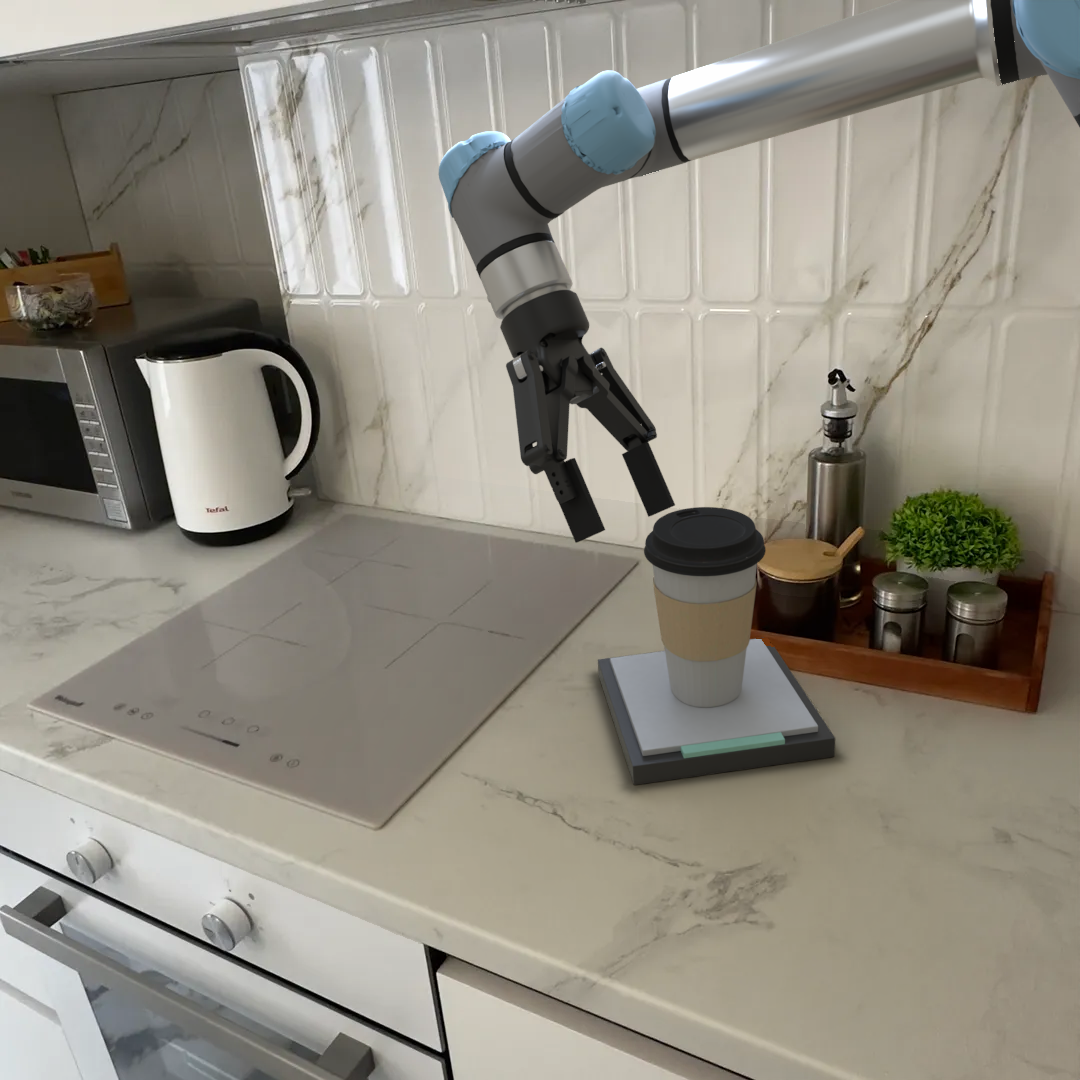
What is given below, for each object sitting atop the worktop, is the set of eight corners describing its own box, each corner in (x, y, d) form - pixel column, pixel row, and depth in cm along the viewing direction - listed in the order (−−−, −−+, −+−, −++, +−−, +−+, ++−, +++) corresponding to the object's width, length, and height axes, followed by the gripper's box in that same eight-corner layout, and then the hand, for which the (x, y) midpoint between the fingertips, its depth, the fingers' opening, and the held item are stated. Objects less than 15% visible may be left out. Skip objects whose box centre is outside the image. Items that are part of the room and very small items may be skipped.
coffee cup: (695, 648, 88) (692, 494, 82) (785, 683, 82) (790, 520, 76) (626, 694, 82) (618, 532, 76) (718, 736, 76) (717, 563, 70)
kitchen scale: (767, 653, 91) (768, 631, 90) (834, 756, 76) (835, 731, 75) (598, 675, 90) (597, 653, 89) (633, 785, 75) (632, 760, 74)
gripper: (574, 325, 100) (655, 515, 99) (419, 325, 80) (519, 565, 78) (633, 289, 96) (718, 488, 95) (485, 279, 75) (591, 532, 74)
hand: (628, 523), depth 87 cm, fingers open, 13 cm apart
